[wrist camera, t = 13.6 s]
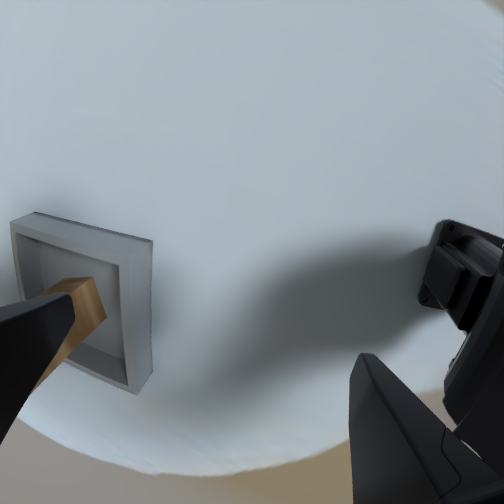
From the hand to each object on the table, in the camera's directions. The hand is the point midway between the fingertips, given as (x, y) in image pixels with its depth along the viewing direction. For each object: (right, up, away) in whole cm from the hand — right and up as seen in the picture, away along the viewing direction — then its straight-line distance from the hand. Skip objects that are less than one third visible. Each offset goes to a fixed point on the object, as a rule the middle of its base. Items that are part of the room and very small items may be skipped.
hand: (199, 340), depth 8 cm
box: (-14, -1, +17) cm, 22 cm away
